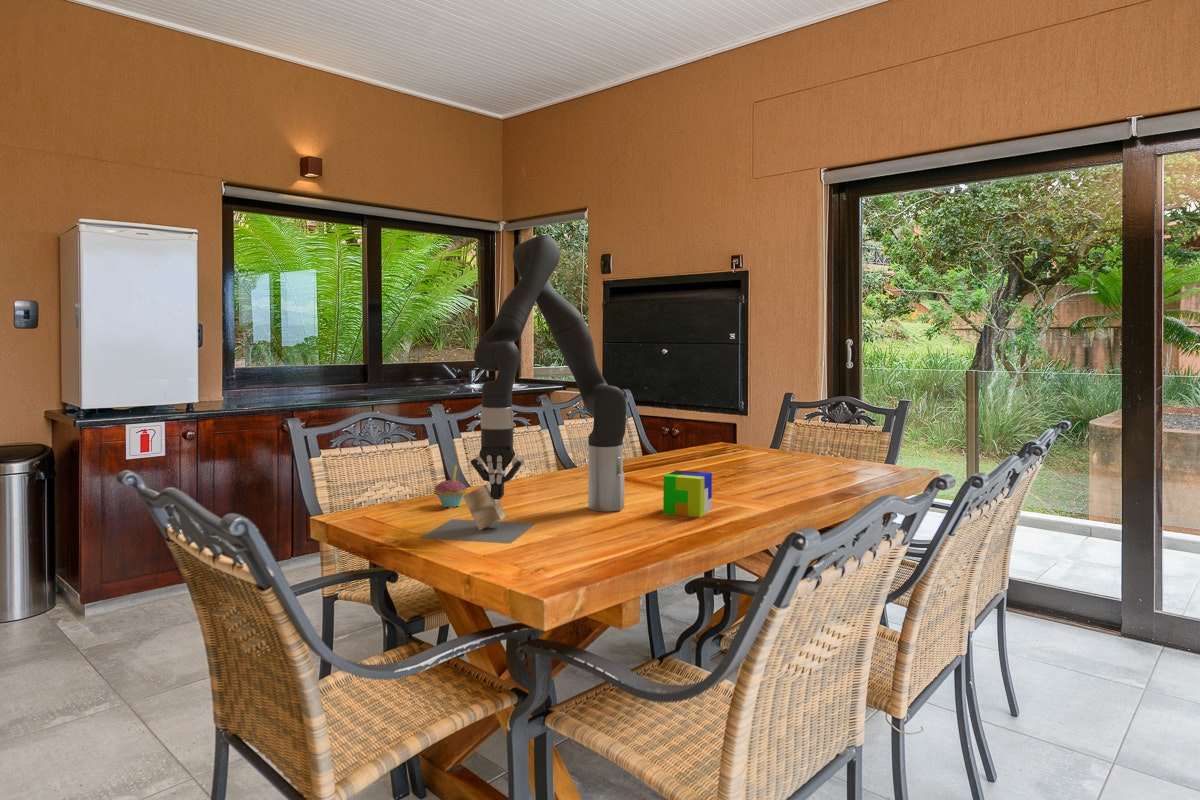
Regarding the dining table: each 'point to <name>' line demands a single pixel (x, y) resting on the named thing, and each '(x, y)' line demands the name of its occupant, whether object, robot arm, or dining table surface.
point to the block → (484, 506)
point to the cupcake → (450, 491)
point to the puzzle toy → (687, 493)
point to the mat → (478, 531)
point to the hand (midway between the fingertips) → (497, 498)
